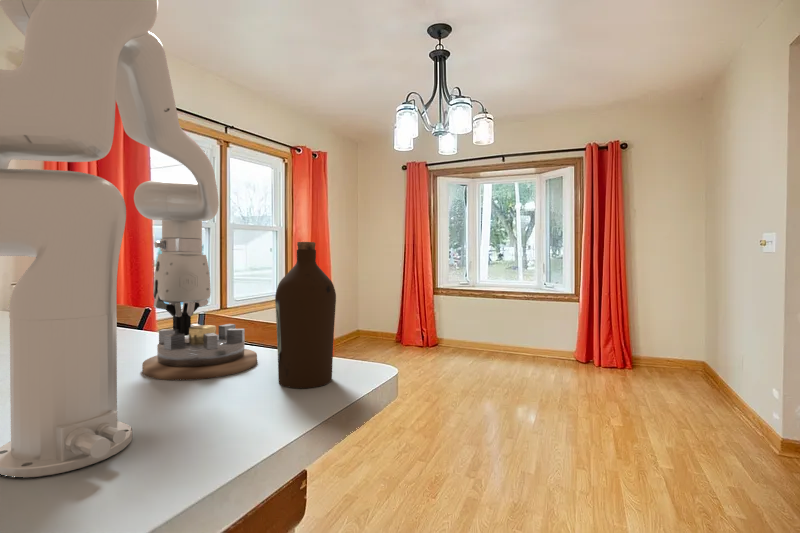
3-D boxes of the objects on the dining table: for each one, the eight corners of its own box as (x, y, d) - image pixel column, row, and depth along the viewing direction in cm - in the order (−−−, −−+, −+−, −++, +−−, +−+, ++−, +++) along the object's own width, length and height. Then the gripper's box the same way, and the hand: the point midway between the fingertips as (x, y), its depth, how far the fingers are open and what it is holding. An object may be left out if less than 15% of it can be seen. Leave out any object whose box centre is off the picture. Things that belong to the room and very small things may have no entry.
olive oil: (338, 373, 83) (339, 243, 82) (331, 390, 72) (332, 241, 72) (282, 372, 83) (283, 242, 82) (267, 390, 72) (268, 240, 71)
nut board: (278, 360, 92) (278, 353, 92) (190, 386, 73) (190, 377, 73) (211, 349, 102) (211, 343, 102) (118, 370, 83) (118, 362, 83)
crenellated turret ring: (255, 359, 86) (255, 329, 86) (164, 371, 76) (164, 337, 76) (232, 345, 99) (232, 319, 98) (152, 354, 89) (152, 325, 89)
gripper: (151, 246, 82) (150, 342, 82) (225, 248, 94) (224, 332, 94) (136, 246, 87) (135, 337, 87) (208, 249, 99) (207, 329, 99)
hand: (181, 334), depth 91 cm, fingers closed
